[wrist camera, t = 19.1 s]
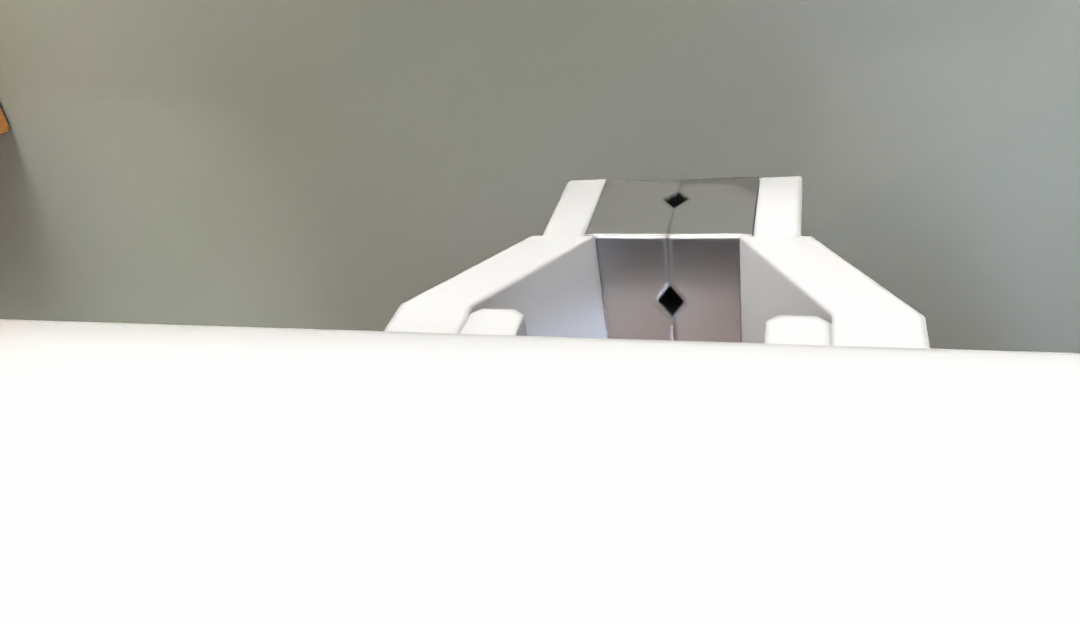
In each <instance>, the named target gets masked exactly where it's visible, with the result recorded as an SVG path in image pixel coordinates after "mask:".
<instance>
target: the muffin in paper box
mask: <svg viewBox="0 0 1080 624" xmlns="http://www.w3.org/2000/svg"><path fill="white" fill-rule="evenodd" d="M9 129H10V126H9V124H8V122H7V120H6V118H5V116H4V113H3V111H2V109H1V107H0V135H2V134H3V133H5V132H7V131H8V130H9Z"/></svg>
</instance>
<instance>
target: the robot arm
mask: <svg viewBox="0 0 1080 624" xmlns="http://www.w3.org/2000/svg"><path fill="white" fill-rule="evenodd" d="M801 217H802V177H801V176H789V177H771V178H760V179H759V177H742V178H715V179H688V180H607V179H593V180H574V181H569V182H568V183H567V185H566V187H565V189H564V191H563V193H562V195H561V197H560V200H559V202H558V204H557V206H556V208H555V210H554V212H553V214H552V216H551V219H550V221H549V223H548V225H547V227H546V229H545V231H544V233H543V235H542V236H531V237H529V238H527V239H525V240H523V241H521V242H519V243H517V244H516V245H514V246H512V247H510V248H508V249H506V250H504V251H502V252H500V253H498V254H496V255H494V256H493V257H491V258H489V259H487V260H485V261H483V262H481V263H479V264H477V265H475V266H473V267H471V268H469V269H468V270H466V271H464V272H462V273H460V274H458V275H456V276H454V277H452V278H450V279H448V280H446V281H445V282H443V283H441V284H439V285H437V286H435V287H433V288H431V289H429V290H427V291H425V292H423V293H422V294H420V295H418V296H416V297H414V298H412V299H410V300H408V301H406V302H404V303H402V304H401V305H400V307H399V308H398V310H397V311H396V313H395V314H394V316H393V318H392V319H391V321H390V322H389V324H388V325H387V327H386V328H385V330H384V331H361V330H329V329H298V328H266V327H234V326H202V325H169V324H137V323H105V322H73V321H40V320H8V319H0V624H1080V353H1055V352H1023V351H991V350H959V349H930V345H929V339H928V333H927V327H926V320H925V317H924V316H923V315H921V314H920V313H919V312H917V311H916V310H914V309H913V308H912V307H910V306H909V305H907V304H906V303H905V302H903V301H902V300H900V299H899V298H897V297H896V296H895V295H893V294H892V293H890V292H889V291H888V290H886V289H885V288H883V287H882V286H881V285H879V284H878V283H876V282H875V281H874V280H872V279H871V278H869V277H868V276H867V275H865V274H864V273H862V272H861V271H859V270H858V269H857V268H855V267H854V266H852V265H851V264H850V263H848V262H847V261H845V260H844V259H843V258H841V257H840V256H838V255H837V254H836V253H834V252H833V251H831V250H830V249H828V248H827V247H826V246H824V245H823V244H821V243H820V242H819V241H817V240H816V239H814V238H813V237H811V236H801Z"/></svg>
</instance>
